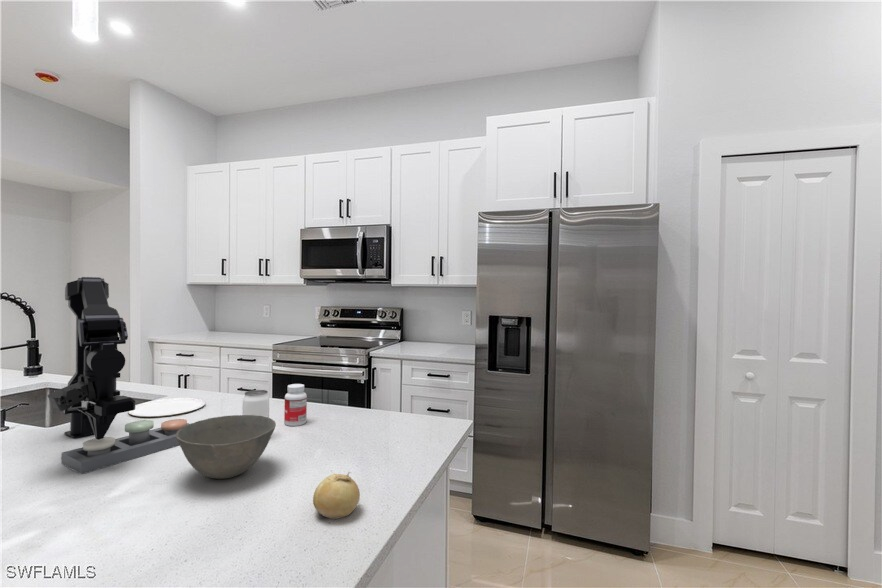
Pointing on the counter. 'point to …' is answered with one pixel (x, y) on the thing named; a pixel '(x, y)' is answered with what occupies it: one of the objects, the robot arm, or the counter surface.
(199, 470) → the bowl
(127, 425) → the sage button
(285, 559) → the counter surface
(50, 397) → the robot arm
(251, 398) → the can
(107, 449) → the ivory button
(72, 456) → the panel
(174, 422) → the terracotta button
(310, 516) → the counter surface
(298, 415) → the pill bottle
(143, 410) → the plate
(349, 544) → the counter surface
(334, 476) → the onion
